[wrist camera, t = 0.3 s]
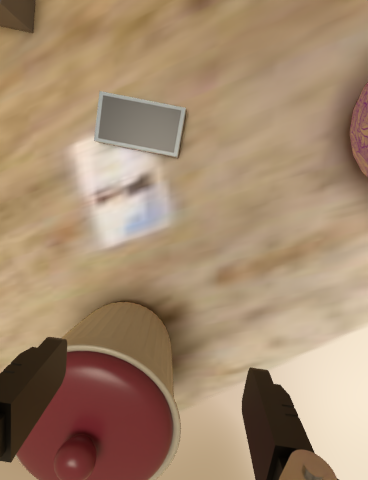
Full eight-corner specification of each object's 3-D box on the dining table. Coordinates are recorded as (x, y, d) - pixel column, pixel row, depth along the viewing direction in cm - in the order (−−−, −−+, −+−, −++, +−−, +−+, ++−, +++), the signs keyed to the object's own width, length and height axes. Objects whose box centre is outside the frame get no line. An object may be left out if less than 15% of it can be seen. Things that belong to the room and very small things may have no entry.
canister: (152, 403, 46) (117, 585, 25) (54, 353, 44) (-68, 502, 24) (207, 317, 42) (219, 447, 21) (102, 260, 41) (8, 341, 20)
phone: (105, 96, 36) (99, 90, 34) (186, 112, 36) (185, 107, 34) (99, 143, 38) (93, 140, 36) (178, 158, 38) (177, 156, 36)
